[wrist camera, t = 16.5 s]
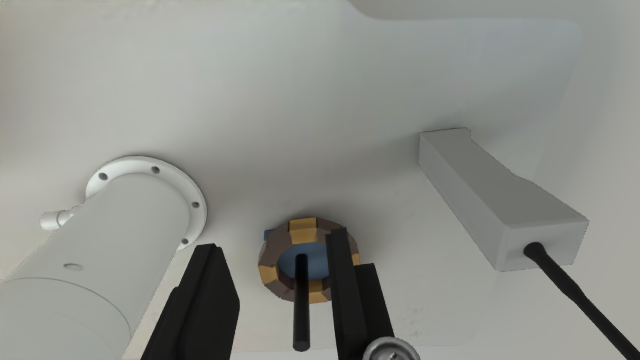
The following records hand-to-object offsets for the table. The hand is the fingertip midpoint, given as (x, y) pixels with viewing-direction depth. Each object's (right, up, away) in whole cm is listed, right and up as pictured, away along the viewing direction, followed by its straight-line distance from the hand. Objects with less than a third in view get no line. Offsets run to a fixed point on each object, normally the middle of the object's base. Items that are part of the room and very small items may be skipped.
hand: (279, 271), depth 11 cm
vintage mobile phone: (+15, +7, +24) cm, 29 cm away
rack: (-1, -6, +30) cm, 30 cm away
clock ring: (0, -7, +29) cm, 30 cm away
